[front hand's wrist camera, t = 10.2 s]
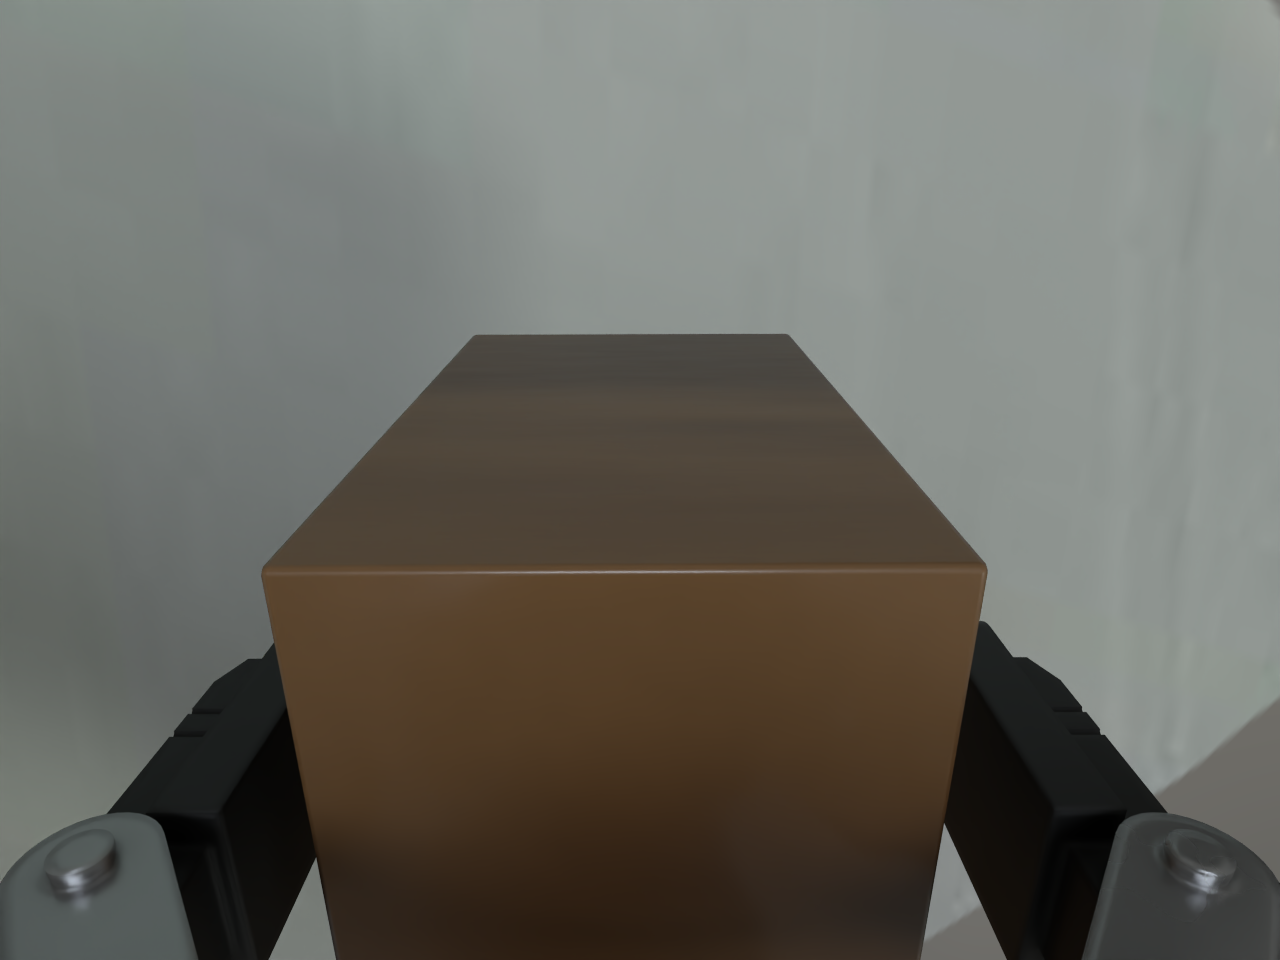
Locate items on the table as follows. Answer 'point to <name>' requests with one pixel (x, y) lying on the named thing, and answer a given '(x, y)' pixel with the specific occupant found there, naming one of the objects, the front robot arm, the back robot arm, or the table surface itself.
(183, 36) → the table surface
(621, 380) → the box
